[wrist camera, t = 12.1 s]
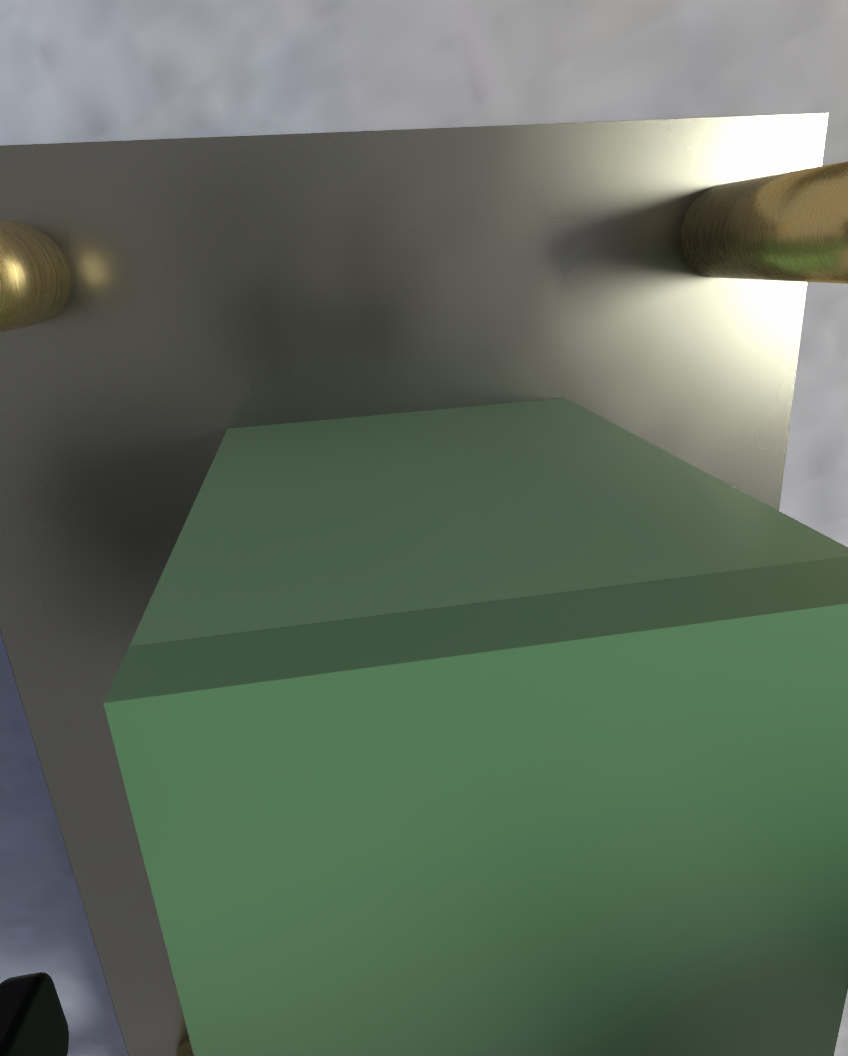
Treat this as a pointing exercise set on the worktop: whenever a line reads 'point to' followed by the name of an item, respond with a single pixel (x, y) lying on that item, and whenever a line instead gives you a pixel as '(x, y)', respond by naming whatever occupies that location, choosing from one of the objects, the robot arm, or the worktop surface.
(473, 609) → the green rectangular block
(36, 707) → the chassis plate
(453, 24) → the worktop surface
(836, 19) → the worktop surface
